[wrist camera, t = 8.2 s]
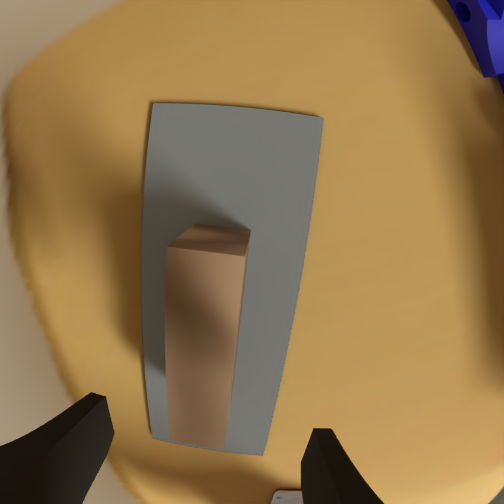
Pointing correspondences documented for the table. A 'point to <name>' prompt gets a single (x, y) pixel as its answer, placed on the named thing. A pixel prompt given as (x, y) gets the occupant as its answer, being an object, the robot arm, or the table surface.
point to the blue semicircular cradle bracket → (484, 33)
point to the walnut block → (203, 330)
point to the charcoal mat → (233, 216)
